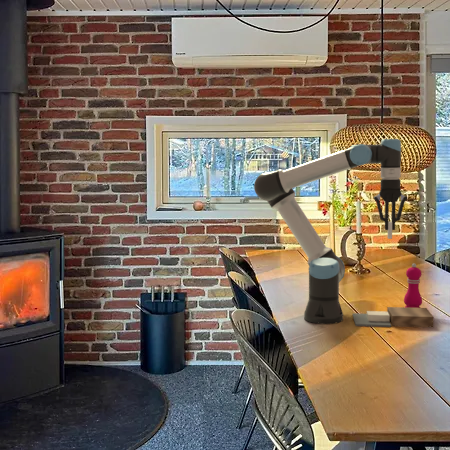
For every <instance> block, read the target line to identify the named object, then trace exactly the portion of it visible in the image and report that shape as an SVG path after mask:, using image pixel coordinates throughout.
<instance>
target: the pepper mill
mask: <svg viewBox="0 0 450 450" xmlns="http://www.w3.org/2000/svg"><path fill="white" fill-rule="evenodd" d="M405 274H406V275H405V276H406V277H407V278H406V279H407V281H406V282H407V283H408V284H407V287H408V288H407V291H406V293H405V295H404V297H403V303H404V305H405V306H404V307H408V308H422V307H420V306H421V305H422V304H423V298H422V295H421V293H420V289H419V285H420V282H421V279H420V278H422V270H421V269H420V268H418V267H417V264H416V263H412V264H411V267H409V268H407V270H406V273H405Z"/></svg>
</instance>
